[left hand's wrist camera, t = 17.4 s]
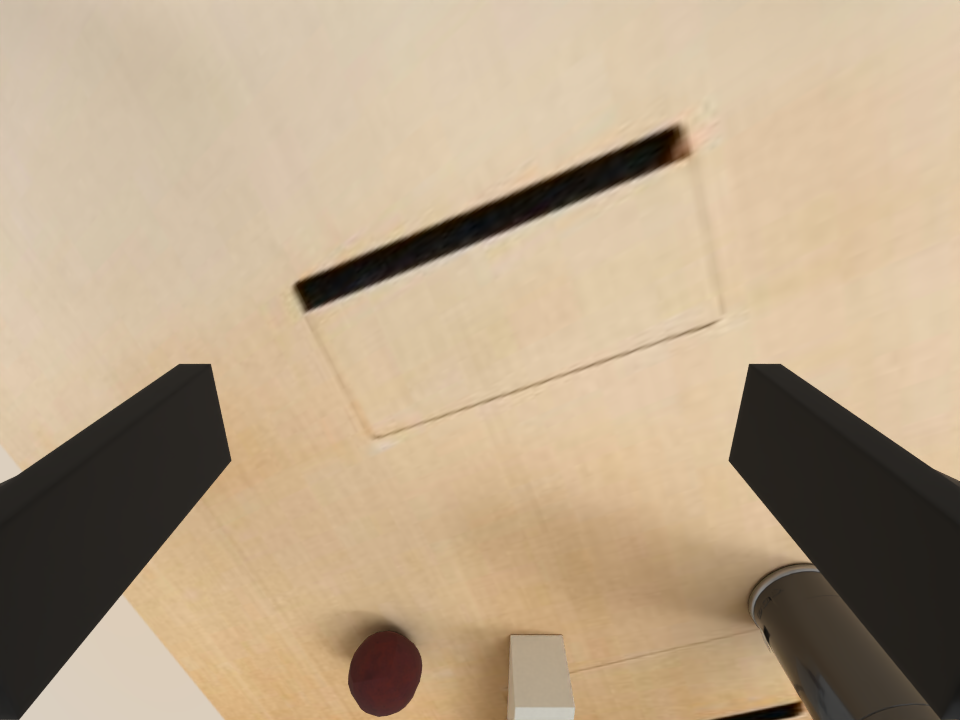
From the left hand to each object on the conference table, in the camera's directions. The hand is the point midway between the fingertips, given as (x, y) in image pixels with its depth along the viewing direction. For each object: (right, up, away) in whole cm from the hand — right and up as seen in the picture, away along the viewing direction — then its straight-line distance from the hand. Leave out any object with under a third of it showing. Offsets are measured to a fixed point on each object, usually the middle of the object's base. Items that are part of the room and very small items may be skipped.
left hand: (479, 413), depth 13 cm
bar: (+6, -40, +47) cm, 62 cm away
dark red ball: (-10, -29, +43) cm, 53 cm away
